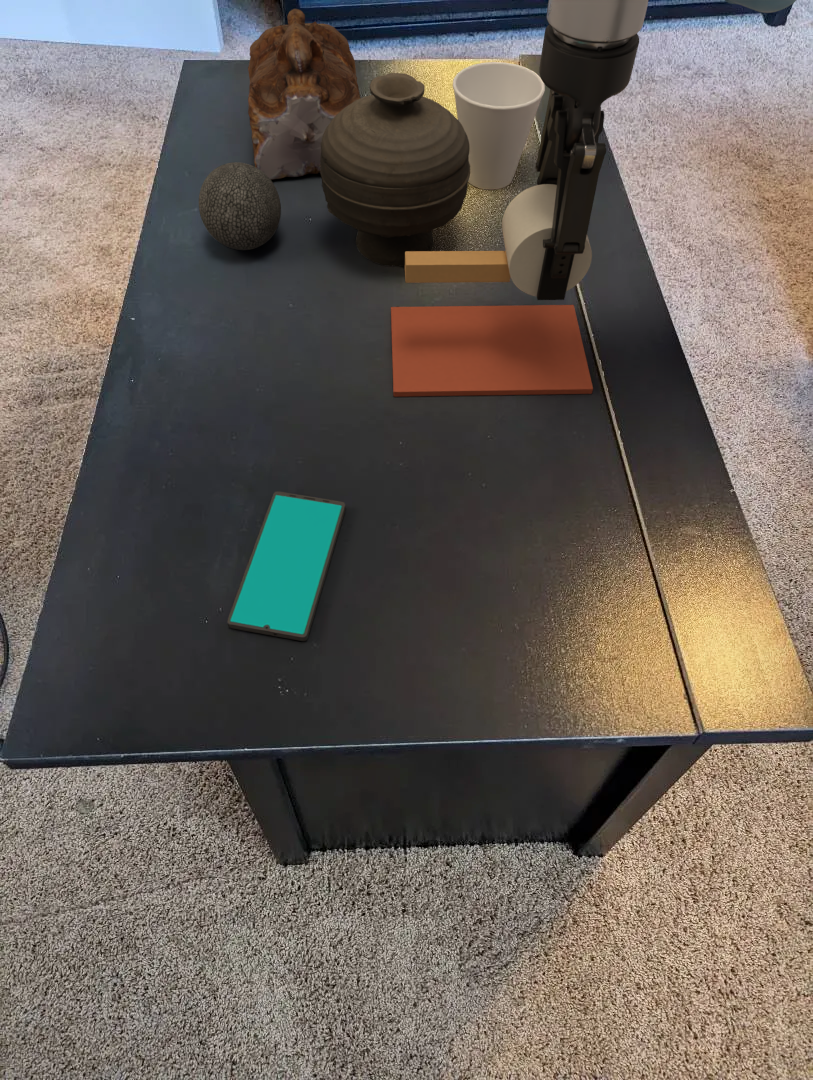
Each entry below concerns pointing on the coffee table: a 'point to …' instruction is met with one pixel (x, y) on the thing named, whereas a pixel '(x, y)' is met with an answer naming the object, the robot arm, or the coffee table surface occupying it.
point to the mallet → (520, 261)
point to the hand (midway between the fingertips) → (545, 272)
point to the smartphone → (287, 566)
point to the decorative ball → (239, 206)
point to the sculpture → (297, 93)
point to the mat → (488, 351)
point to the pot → (394, 168)
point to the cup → (496, 118)
